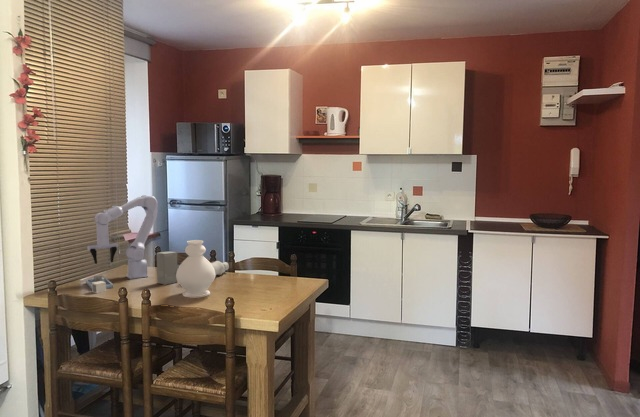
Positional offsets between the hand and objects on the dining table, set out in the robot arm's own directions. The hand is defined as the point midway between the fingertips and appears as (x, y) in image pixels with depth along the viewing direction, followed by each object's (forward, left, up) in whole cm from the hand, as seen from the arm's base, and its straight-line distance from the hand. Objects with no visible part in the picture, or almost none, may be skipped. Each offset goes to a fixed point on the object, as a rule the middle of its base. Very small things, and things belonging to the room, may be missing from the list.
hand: (103, 262), depth 263 cm
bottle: (-48, +22, -10) cm, 54 cm away
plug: (+4, +7, -9) cm, 12 cm away
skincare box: (-26, +20, -10) cm, 34 cm away
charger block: (+6, +19, -10) cm, 22 cm away
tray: (+4, +7, -10) cm, 13 cm away
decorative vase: (-30, +49, -10) cm, 58 cm away
